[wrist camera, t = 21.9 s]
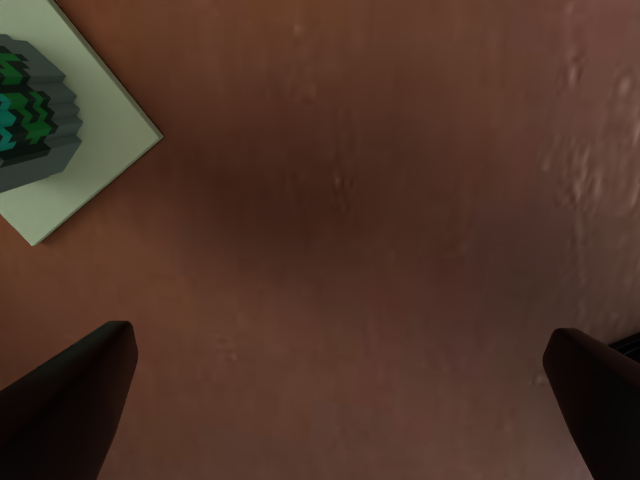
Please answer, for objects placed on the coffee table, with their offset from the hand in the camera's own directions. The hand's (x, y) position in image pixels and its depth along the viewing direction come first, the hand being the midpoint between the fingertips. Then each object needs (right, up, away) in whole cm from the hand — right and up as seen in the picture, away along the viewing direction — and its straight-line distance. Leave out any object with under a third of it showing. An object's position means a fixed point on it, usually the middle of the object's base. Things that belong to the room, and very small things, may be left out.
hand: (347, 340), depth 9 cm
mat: (-15, +8, +11) cm, 20 cm away
